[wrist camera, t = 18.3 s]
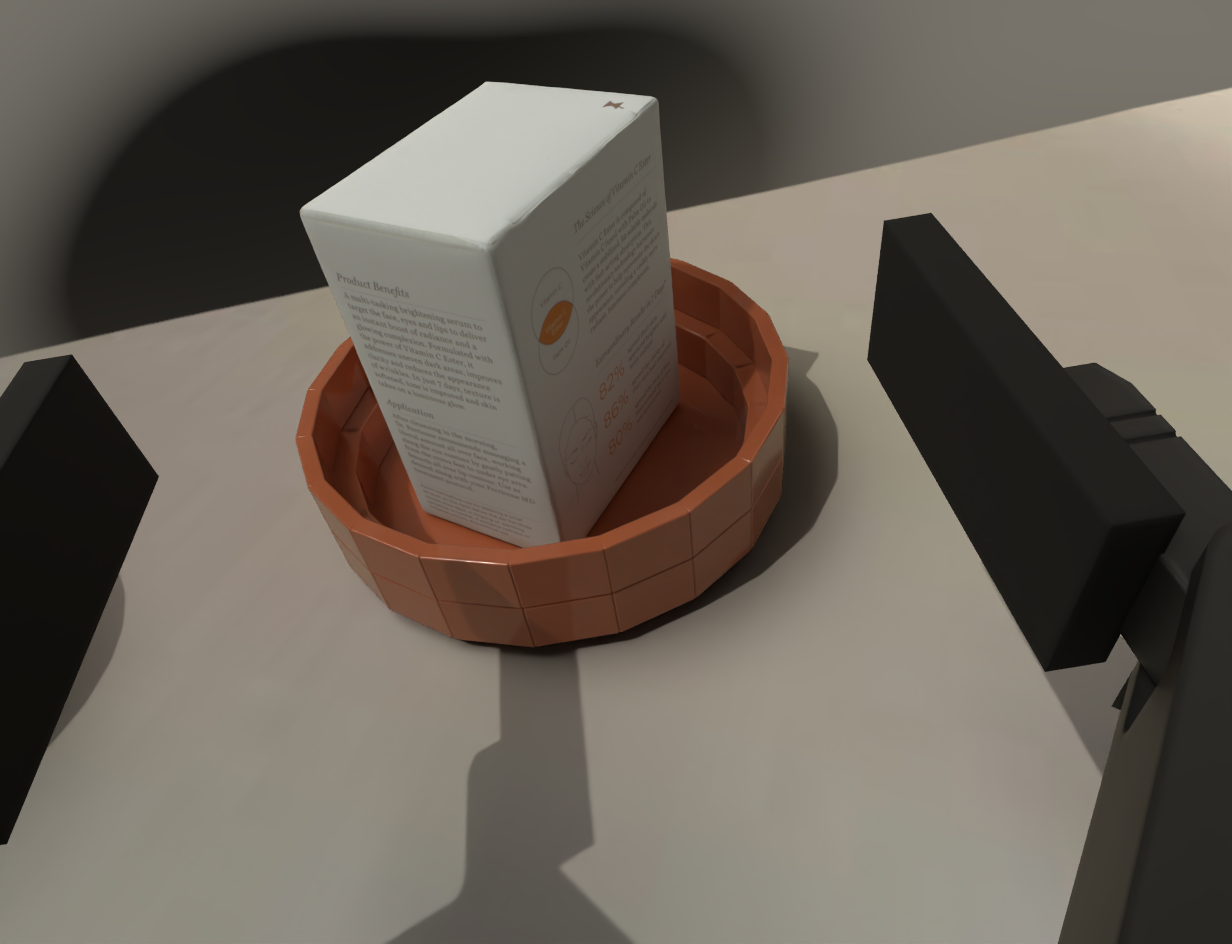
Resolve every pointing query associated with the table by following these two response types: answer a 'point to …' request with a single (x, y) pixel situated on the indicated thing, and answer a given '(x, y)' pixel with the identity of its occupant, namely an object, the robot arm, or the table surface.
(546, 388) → the small box
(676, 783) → the table surface
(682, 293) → the bowl
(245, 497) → the table surface
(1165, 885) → the robot arm
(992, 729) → the table surface
